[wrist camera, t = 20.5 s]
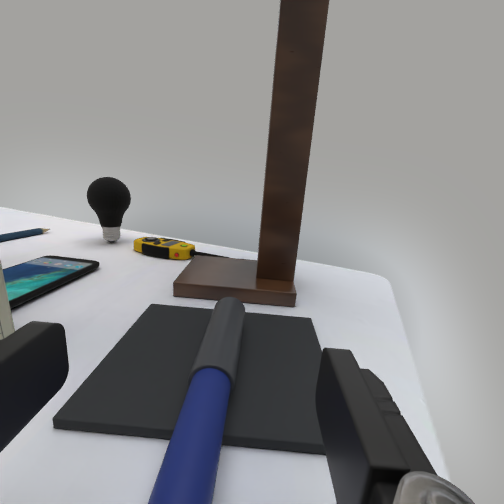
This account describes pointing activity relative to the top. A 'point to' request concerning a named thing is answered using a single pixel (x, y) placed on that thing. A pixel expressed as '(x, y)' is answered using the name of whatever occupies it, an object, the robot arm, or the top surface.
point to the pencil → (22, 234)
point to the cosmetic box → (5, 310)
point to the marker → (203, 412)
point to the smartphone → (42, 276)
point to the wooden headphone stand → (275, 171)
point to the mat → (177, 372)
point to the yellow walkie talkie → (167, 248)
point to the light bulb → (109, 205)
